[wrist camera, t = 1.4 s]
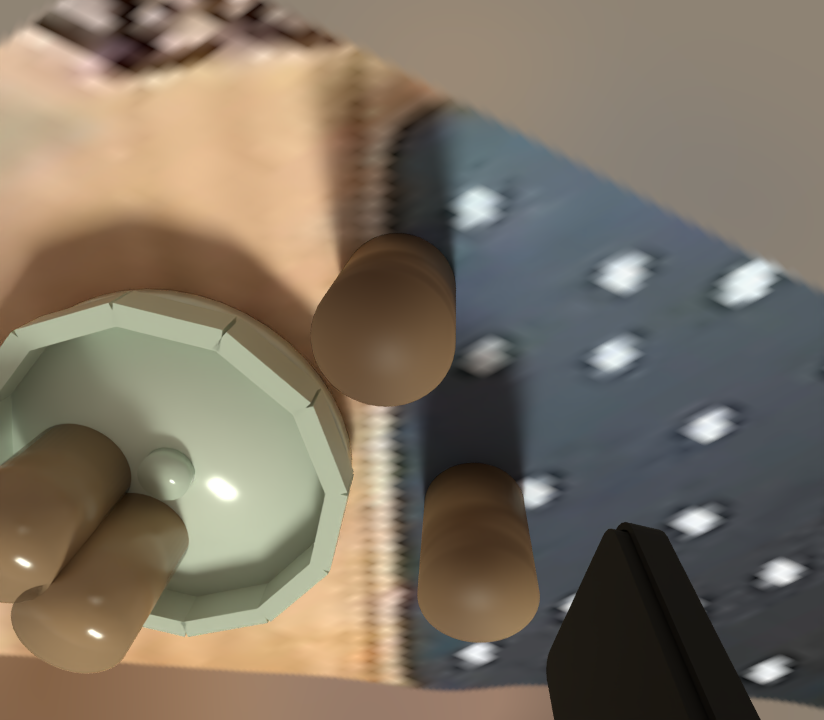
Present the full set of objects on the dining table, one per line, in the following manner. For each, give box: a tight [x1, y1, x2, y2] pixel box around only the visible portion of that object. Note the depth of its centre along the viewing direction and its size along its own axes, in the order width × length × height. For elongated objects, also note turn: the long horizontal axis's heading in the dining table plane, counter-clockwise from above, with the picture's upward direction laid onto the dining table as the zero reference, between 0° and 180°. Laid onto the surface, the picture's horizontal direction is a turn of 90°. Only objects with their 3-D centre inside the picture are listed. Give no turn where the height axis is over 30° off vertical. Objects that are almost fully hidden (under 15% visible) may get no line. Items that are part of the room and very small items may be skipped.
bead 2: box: [417, 463, 540, 642], centre depth 22 cm, size 4×4×5 cm
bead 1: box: [311, 233, 456, 407], centre depth 19 cm, size 4×4×5 cm
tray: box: [0, 289, 354, 673], centre depth 22 cm, size 14×14×6 cm
